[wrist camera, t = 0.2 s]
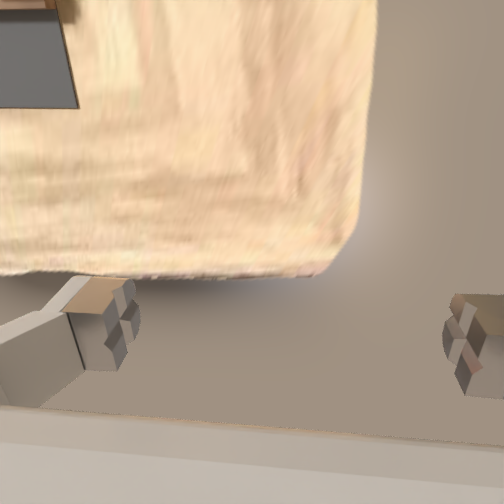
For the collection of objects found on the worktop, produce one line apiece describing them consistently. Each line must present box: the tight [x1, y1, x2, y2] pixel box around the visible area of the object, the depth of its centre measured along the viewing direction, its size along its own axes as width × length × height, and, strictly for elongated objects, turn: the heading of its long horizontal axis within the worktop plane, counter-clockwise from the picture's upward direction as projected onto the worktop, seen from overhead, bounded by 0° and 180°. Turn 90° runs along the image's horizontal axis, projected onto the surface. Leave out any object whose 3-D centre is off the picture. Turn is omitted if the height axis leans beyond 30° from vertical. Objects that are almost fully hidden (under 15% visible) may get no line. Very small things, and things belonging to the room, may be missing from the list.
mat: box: [0, 9, 78, 108], centre depth 53 cm, size 12×18×1 cm, turn 90°
